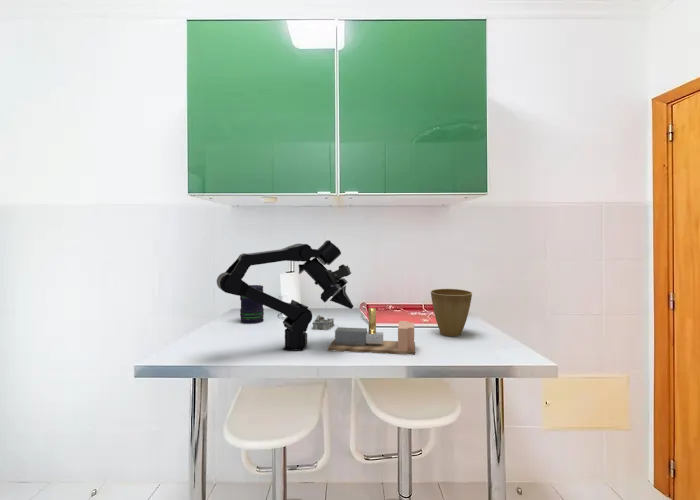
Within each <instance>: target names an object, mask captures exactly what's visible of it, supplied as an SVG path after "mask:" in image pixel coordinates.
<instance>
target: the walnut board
mask: <svg viewBox="0 0 700 500" xmlns="http://www.w3.org/2000/svg"><path fill="white" fill-rule="evenodd" d="M415 348H416V342H415V341H414V350H408V351H398V340H383V344H376V343H367V344H366V346H365V347H364V346H342V345H335V338H334V339H333V340H332V341H331V343H330V344H329V345H328V346H327V351H328V350H335V351H334V352H344V351H350V352H349V353H365V352H372V353H371V354H386V353H388V354H390V355H392V354H393V355H407V354H413V355H412V356H415V354H416V352H415V351H416V349H415Z"/></svg>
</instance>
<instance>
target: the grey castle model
mask: <svg viewBox="0 0 700 500" xmlns="http://www.w3.org/2000/svg"><path fill="white" fill-rule="evenodd" d="M334 320H335V318H334V317H333V318H332V317H330V318H329V317H327V318H326V319H325V317H324V316H321V315H320V314H318V315H317V316H316V318H314V320H313V321H312V322H311V324H312V329H313V330H315V331H316V330H322V331H326V330H327V331H328V330H330V328H332V326H335V325H334V322H335V321H334Z"/></svg>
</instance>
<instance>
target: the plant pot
mask: <svg viewBox="0 0 700 500" xmlns="http://www.w3.org/2000/svg"><path fill="white" fill-rule="evenodd" d="M430 295H431V296H430V297H431V302H432V303H431V304H432V308H433V313H434V318H435V321H436V324H437V327H438V330H439V332H440V334H441V335H442V336H445V337H460V336H461V335H462V333H463V331H464V328H465V326H466V322H467V321H468V320H467V319H468V317H469V312H470V308H471V303H472V297H473V292H472V291H469V290H465V289H458V288H435V289H432V290H430Z"/></svg>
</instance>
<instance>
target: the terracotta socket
mask: <svg viewBox="0 0 700 500" xmlns="http://www.w3.org/2000/svg"><path fill="white" fill-rule="evenodd" d="M397 341H398V351H408V350H414V342H415V322H409V321H405V320H403V321H401V320H399V322H398V326H397Z"/></svg>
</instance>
